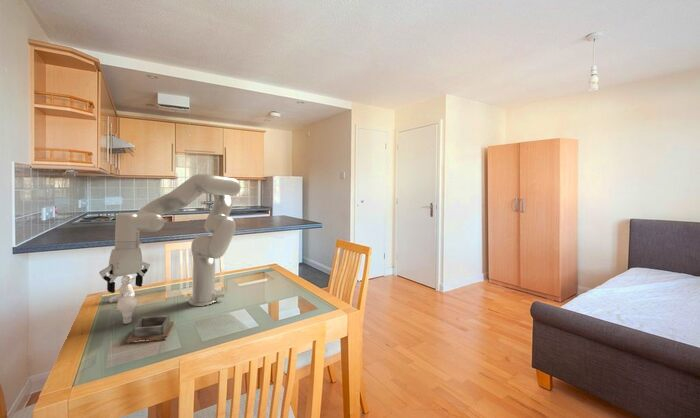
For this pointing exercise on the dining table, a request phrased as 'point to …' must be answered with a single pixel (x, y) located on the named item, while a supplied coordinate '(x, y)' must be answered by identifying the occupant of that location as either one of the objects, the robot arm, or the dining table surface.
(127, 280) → the sitting furry creature
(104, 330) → the dining table surface
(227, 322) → the dining table surface
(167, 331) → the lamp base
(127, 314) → the lightbulb
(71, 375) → the dining table surface
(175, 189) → the robot arm
